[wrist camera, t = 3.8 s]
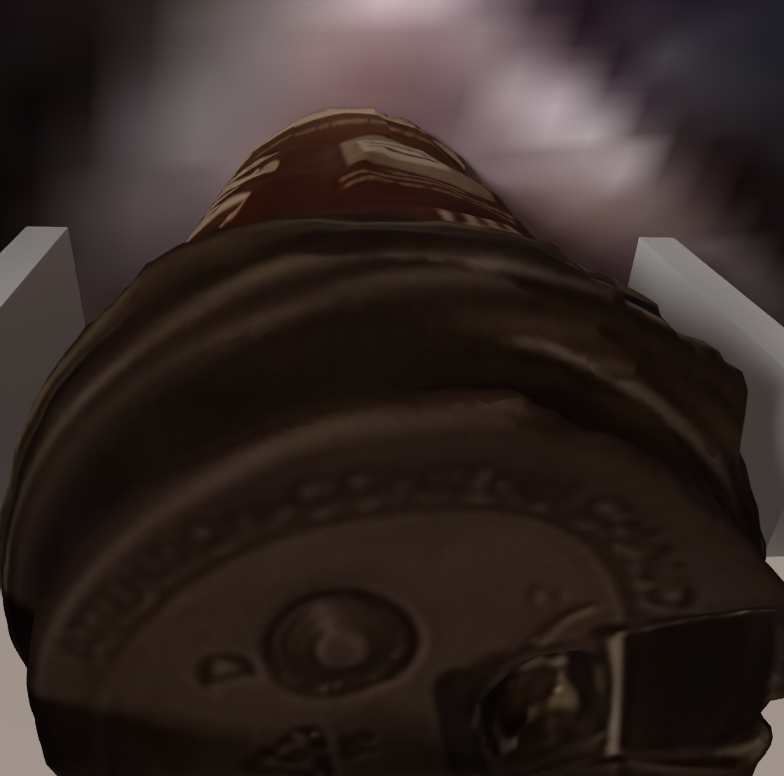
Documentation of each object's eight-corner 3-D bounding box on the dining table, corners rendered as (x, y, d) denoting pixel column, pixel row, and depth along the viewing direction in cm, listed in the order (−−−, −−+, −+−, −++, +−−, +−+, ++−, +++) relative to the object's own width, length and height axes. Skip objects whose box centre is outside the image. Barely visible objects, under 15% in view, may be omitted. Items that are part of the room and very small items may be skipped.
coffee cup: (603, 187, 17) (1114, 612, 6) (418, 443, 21) (542, 1014, 10) (266, -30, 15) (131, 63, 3) (115, 309, 18) (-201, 908, 7)
